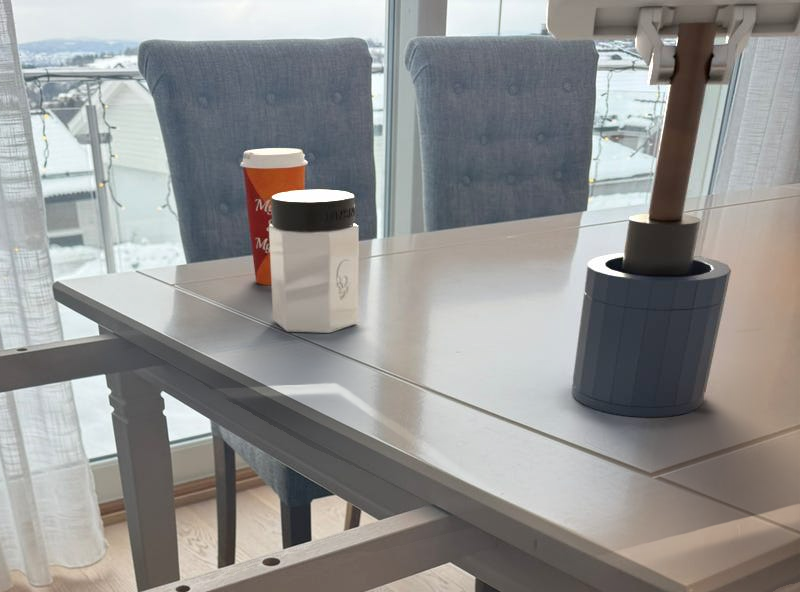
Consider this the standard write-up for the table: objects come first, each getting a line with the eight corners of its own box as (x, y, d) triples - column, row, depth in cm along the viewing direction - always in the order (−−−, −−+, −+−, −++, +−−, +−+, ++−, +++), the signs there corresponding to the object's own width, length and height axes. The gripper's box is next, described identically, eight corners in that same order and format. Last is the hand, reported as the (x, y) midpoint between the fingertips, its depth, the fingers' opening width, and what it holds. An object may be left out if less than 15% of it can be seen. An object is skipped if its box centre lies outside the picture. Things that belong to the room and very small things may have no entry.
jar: (317, 339, 91) (314, 205, 85) (257, 325, 96) (250, 198, 89) (373, 319, 97) (374, 193, 90) (314, 308, 101) (311, 186, 95)
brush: (659, 259, 73) (700, 22, 64) (705, 271, 69) (756, 21, 61) (607, 266, 71) (643, 23, 63) (652, 278, 67) (696, 22, 59)
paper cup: (260, 290, 109) (253, 156, 101) (238, 277, 115) (230, 150, 107) (321, 283, 111) (319, 151, 104) (296, 270, 117) (292, 145, 109)
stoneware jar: (643, 369, 81) (664, 247, 76) (730, 404, 73) (761, 271, 68) (546, 387, 78) (561, 260, 72) (626, 425, 70) (649, 287, 64)
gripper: (556, -128, 64) (536, 42, 62) (879, -145, 60) (871, 36, 58) (550, -45, 70) (531, 113, 68) (843, -55, 66) (834, 113, 64)
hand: (690, 78), depth 63 cm, fingers closed on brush, 2 cm apart
